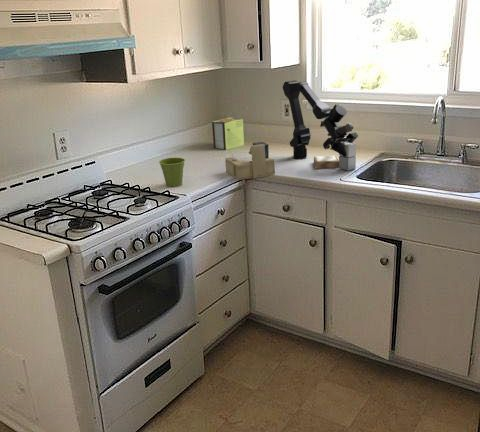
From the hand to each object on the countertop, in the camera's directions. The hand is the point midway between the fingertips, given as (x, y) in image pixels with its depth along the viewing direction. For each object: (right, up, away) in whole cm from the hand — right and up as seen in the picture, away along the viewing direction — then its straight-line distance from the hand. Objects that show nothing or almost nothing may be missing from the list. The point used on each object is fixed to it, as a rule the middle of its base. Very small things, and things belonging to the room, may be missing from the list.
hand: (349, 155), depth 252 cm
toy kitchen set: (-46, -9, +5) cm, 47 cm away
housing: (0, -6, +3) cm, 7 cm away
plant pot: (-81, -15, -8) cm, 83 cm away
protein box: (-58, +12, +61) cm, 85 cm away
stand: (-9, -3, +12) cm, 16 cm away
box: (-41, -3, +20) cm, 45 cm away
